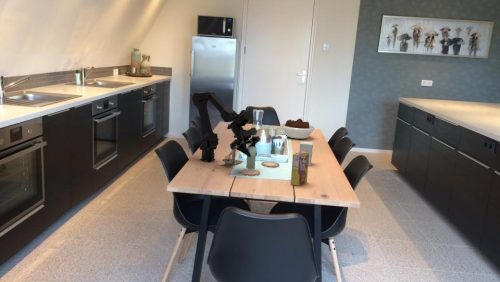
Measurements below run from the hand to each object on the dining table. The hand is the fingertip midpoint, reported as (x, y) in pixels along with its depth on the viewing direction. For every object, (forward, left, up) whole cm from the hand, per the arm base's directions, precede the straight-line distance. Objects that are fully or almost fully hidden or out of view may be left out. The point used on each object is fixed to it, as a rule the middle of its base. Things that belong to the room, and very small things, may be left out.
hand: (253, 156), depth 214 cm
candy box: (+26, -1, -10) cm, 27 cm away
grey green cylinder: (-1, 0, -7) cm, 7 cm away
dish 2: (+1, +22, -9) cm, 24 cm away
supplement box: (+16, +38, -10) cm, 43 cm away
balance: (-17, +11, -9) cm, 23 cm away
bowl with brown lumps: (-15, +111, -10) cm, 113 cm away
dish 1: (-1, 0, -9) cm, 9 cm away
